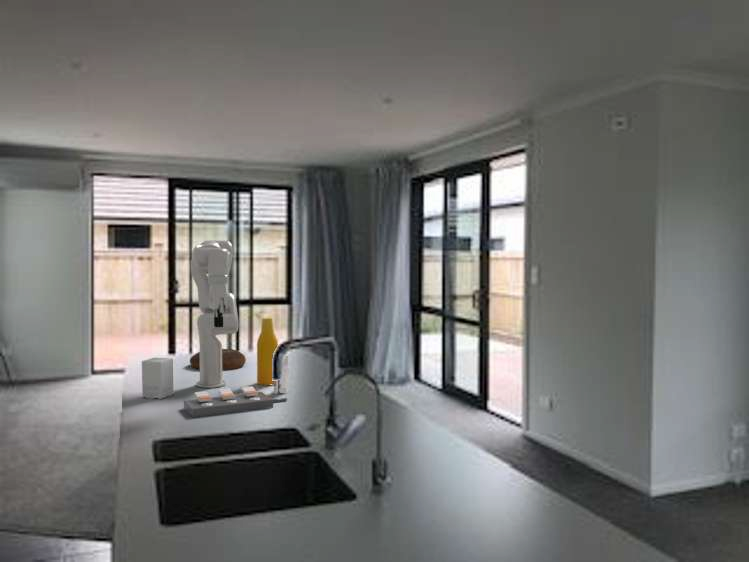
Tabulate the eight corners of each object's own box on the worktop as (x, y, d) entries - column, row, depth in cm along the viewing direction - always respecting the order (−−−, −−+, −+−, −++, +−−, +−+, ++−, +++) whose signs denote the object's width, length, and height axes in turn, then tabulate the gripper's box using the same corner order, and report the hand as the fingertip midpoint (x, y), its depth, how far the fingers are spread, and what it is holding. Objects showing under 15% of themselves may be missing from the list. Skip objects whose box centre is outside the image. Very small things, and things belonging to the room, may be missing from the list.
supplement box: (174, 394, 257) (174, 358, 256) (161, 399, 248) (160, 362, 247) (155, 392, 259) (154, 357, 258) (141, 397, 250) (141, 360, 250)
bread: (185, 363, 325) (184, 346, 324) (237, 359, 337) (237, 343, 337) (196, 373, 299) (196, 355, 299) (252, 368, 312) (252, 351, 312)
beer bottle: (280, 384, 275) (280, 319, 274) (259, 386, 272) (259, 319, 270) (275, 380, 284) (275, 316, 282) (255, 382, 281) (254, 317, 279)
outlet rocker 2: (241, 389, 244) (241, 386, 244) (252, 388, 246) (252, 385, 246) (246, 396, 238) (246, 393, 238) (257, 395, 241) (258, 392, 240)
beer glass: (285, 394, 257) (285, 358, 256) (269, 393, 258) (269, 357, 257) (291, 391, 264) (291, 355, 263) (275, 390, 265) (275, 355, 264)
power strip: (184, 408, 235) (183, 398, 234) (280, 397, 253) (280, 387, 253) (192, 417, 222) (192, 406, 222) (293, 404, 241) (293, 395, 241)
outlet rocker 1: (218, 391, 240) (218, 388, 240) (229, 390, 242) (229, 387, 242) (223, 399, 234) (223, 396, 234) (234, 398, 236) (235, 395, 236)
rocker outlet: (194, 394, 236) (194, 391, 235) (206, 393, 238) (206, 390, 237) (199, 402, 230) (199, 398, 229) (210, 400, 232) (211, 397, 232)
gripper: (203, 279, 250) (204, 325, 251) (213, 281, 237) (214, 329, 238) (222, 279, 253) (222, 324, 254) (233, 281, 240) (233, 328, 241)
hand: (218, 326), depth 246 cm, fingers closed
